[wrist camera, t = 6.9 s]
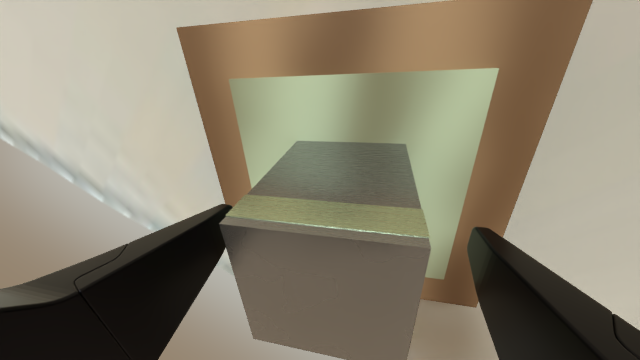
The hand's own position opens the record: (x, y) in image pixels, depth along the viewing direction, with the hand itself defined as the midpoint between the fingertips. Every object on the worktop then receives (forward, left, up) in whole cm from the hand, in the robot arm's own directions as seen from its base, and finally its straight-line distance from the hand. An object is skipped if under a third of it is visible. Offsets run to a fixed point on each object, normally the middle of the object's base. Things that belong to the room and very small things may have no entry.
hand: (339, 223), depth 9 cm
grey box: (0, 0, -3) cm, 3 cm away
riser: (0, 0, -6) cm, 6 cm away
